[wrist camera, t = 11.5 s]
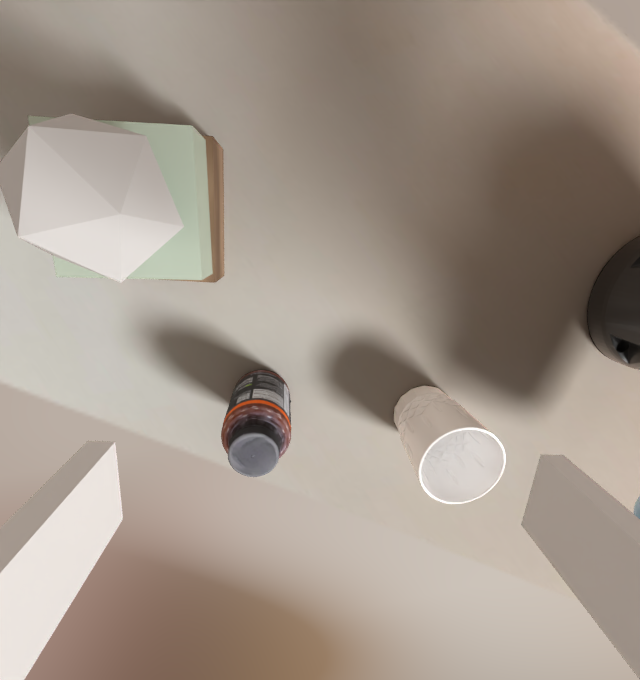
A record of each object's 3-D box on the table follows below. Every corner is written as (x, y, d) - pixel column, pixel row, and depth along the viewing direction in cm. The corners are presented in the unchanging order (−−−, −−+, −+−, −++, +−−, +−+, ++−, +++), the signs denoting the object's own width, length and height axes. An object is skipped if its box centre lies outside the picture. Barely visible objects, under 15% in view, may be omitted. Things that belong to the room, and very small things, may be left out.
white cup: (433, 451, 43) (475, 514, 33) (375, 428, 41) (402, 488, 32) (468, 395, 41) (523, 445, 31) (409, 369, 39) (448, 414, 30)
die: (77, 110, 23) (-97, 152, 17) (177, 90, 20) (9, 133, 13) (138, 231, 28) (23, 300, 22) (226, 232, 25) (121, 313, 18)
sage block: (205, 139, 27) (192, 125, 23) (212, 273, 30) (201, 280, 26) (65, 131, 26) (27, 115, 23) (86, 270, 29) (56, 277, 25)
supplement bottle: (269, 427, 40) (262, 501, 29) (223, 400, 39) (198, 466, 28) (301, 387, 39) (306, 448, 28) (254, 357, 37) (241, 408, 27)
